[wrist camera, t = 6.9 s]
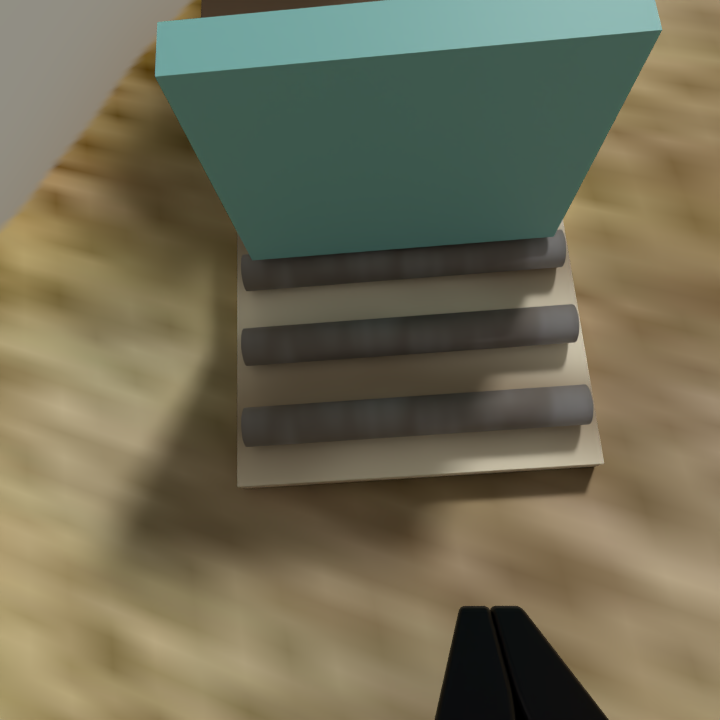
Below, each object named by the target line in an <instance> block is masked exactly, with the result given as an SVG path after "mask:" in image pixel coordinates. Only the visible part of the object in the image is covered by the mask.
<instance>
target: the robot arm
mask: <svg viewBox="0 0 720 720" xmlns="http://www.w3.org/2000/svg"><path fill="white" fill-rule="evenodd" d="M435 720H609V719H608V718H607V717H606V716H605V714H604V713H603V712H602V710H601V709H600V708H599V707H598V705H597V704H596V703H595V701H594V700H593V699H592V697H591V696H590V695H589V694H588V692H587V691H586V690H585V688H584V687H583V686H582V685H581V683H580V682H579V681H578V679H577V678H576V677H575V676H574V674H573V673H572V672H571V670H570V669H569V668H568V667H567V665H566V664H565V663H564V661H563V660H562V659H561V658H560V656H559V655H558V654H557V652H556V651H555V650H554V649H553V647H552V646H551V645H550V643H549V642H548V641H547V639H546V638H545V637H544V636H543V634H542V633H541V632H540V630H539V629H538V628H537V627H536V625H535V624H534V623H533V621H532V620H531V619H530V618H529V616H528V615H527V614H526V612H525V611H524V610H523V609H522V608H520V607H518V606H494V607H492V608H491V609H489V608H488V607H486V606H463V607H461V608H460V609H459V613H458V617H457V621H456V626H455V630H454V635H453V639H452V644H451V648H450V653H449V657H448V662H447V666H446V671H445V675H444V680H443V684H442V689H441V693H440V698H439V702H438V707H437V711H436V716H435Z"/></svg>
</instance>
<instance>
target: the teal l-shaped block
mask: <svg viewBox="0 0 720 720" xmlns="http://www.w3.org/2000/svg"><path fill="white" fill-rule="evenodd" d="M661 31H662V27H661V23H660V19H659V15H658V11H657V7H656V3H655V0H383V1H373V2H362V3H352V4H341V5H331V6H321V7H310V8H300V9H289V10H279V11H269V12H258V13H248V14H237V15H227V16H216V17H206V18H196V19H185V20H175V21H164V22H158V24H157V45H156V66H155V78H156V79H157V81H158V83H159V85H160V87H161V89H162V91H163V93H164V95H165V96H166V98H167V100H168V102H169V104H170V106H171V108H172V110H173V112H174V113H175V115H176V117H177V119H178V121H179V123H180V125H181V127H182V129H183V130H184V132H185V134H186V136H187V138H188V140H189V142H190V144H191V146H192V147H193V149H194V151H195V153H196V155H197V157H198V159H199V161H200V163H201V164H202V166H203V168H204V170H205V172H206V174H207V176H208V178H209V180H210V181H211V183H212V185H213V187H214V189H215V191H216V193H217V195H218V197H219V198H220V200H221V202H222V204H223V206H224V208H225V210H226V212H227V214H228V215H229V217H230V219H231V221H232V223H233V225H234V227H235V229H236V231H237V232H238V234H239V236H240V238H241V240H242V242H243V244H244V246H245V248H246V250H247V251H248V253H249V255H250V257H251V259H252V260H264V259H277V258H289V257H302V256H315V255H327V254H340V253H353V252H365V251H378V250H391V249H404V248H416V247H429V246H442V245H454V244H467V243H480V242H492V241H505V240H518V239H530V238H543V237H554V235H555V233H556V231H557V229H558V227H559V226H560V224H561V222H562V220H563V218H564V216H565V214H566V212H567V210H568V208H569V207H570V205H571V203H572V201H573V199H574V197H575V195H576V193H577V191H578V189H579V187H580V186H581V184H582V182H583V180H584V178H585V176H586V174H587V172H588V170H589V168H590V166H591V165H592V163H593V161H594V159H595V157H596V155H597V153H598V151H599V149H600V147H601V145H602V144H603V142H604V140H605V138H606V136H607V134H608V132H609V130H610V128H611V126H612V124H613V123H614V121H615V119H616V117H617V115H618V113H619V111H620V109H621V107H622V105H623V103H624V102H625V100H626V98H627V96H628V94H629V92H630V90H631V88H632V86H633V84H634V82H635V81H636V79H637V77H638V75H639V73H640V71H641V69H642V67H643V65H644V63H645V61H646V60H647V58H648V56H649V54H650V52H651V50H652V48H653V46H654V44H655V42H656V41H657V39H658V37H659V35H660V33H661Z"/></svg>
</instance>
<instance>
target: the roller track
mask: <svg viewBox="0 0 720 720" xmlns="http://www.w3.org/2000/svg"><path fill="white" fill-rule="evenodd" d="M373 1H383V0H202V9H201V18H206V17H216V16H227V15H237V14H248V13H258V12H269V11H279V10H289V9H300V8H310V7H321V6H331V5H341V4H352V3H362V2H373ZM601 464H604V460H603V454H602V448H601V442H600V436H599V430H598V424H597V418H596V412H595V406H594V401H593V395H592V389H591V383H590V377H589V371H588V365H587V359H586V353H585V348H584V342H583V336H582V330H581V324H580V318H579V312H578V306H577V300H576V295H575V289H574V283H573V277H572V271H571V265H570V259H569V253H568V247H567V241H566V236H565V230H564V224H563V220H562V222H561V224H560V226H559V227H558V229H557V231H556V233H555V235H554V237H543V238H530V239H518V240H505V241H492V242H480V243H467V244H454V245H442V246H429V247H416V248H404V249H391V250H378V251H365V252H353V253H340V254H327V255H315V256H302V257H289V258H277V259H264V260H252V259H251V257H250V255H249V253H248V251H247V250H246V248H245V246H244V244H243V242H242V240H241V238H240V236H239V234H238V232H237V487H240V488H243V489H247V488H263V487H279V486H295V485H311V484H326V483H342V482H358V481H374V480H390V479H406V478H422V477H437V476H453V475H469V474H485V473H501V472H517V471H532V470H548V469H564V468H580V467H595V466H598V465H601Z"/></svg>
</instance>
